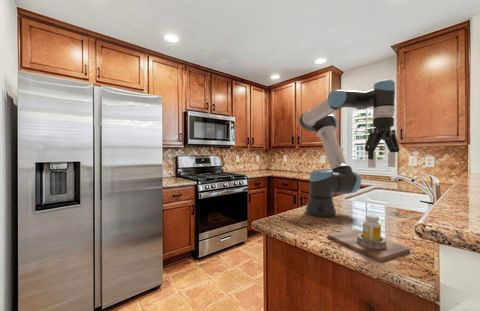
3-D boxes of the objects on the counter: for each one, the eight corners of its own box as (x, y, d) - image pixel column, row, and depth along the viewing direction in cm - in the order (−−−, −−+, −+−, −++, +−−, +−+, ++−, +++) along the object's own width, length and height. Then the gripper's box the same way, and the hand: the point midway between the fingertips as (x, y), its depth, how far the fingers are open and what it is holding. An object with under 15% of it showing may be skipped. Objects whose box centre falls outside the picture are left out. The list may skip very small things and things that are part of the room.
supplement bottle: (361, 243, 76) (362, 216, 76) (363, 238, 81) (363, 212, 81) (380, 247, 73) (381, 219, 73) (380, 242, 78) (381, 215, 78)
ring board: (327, 237, 84) (327, 229, 84) (355, 231, 91) (355, 224, 91) (379, 261, 66) (380, 251, 66) (410, 252, 73) (410, 242, 73)
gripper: (373, 113, 85) (371, 168, 86) (409, 118, 96) (408, 167, 97) (355, 116, 92) (354, 167, 93) (391, 120, 103) (390, 166, 103)
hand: (381, 167), depth 95 cm, fingers open, 13 cm apart
